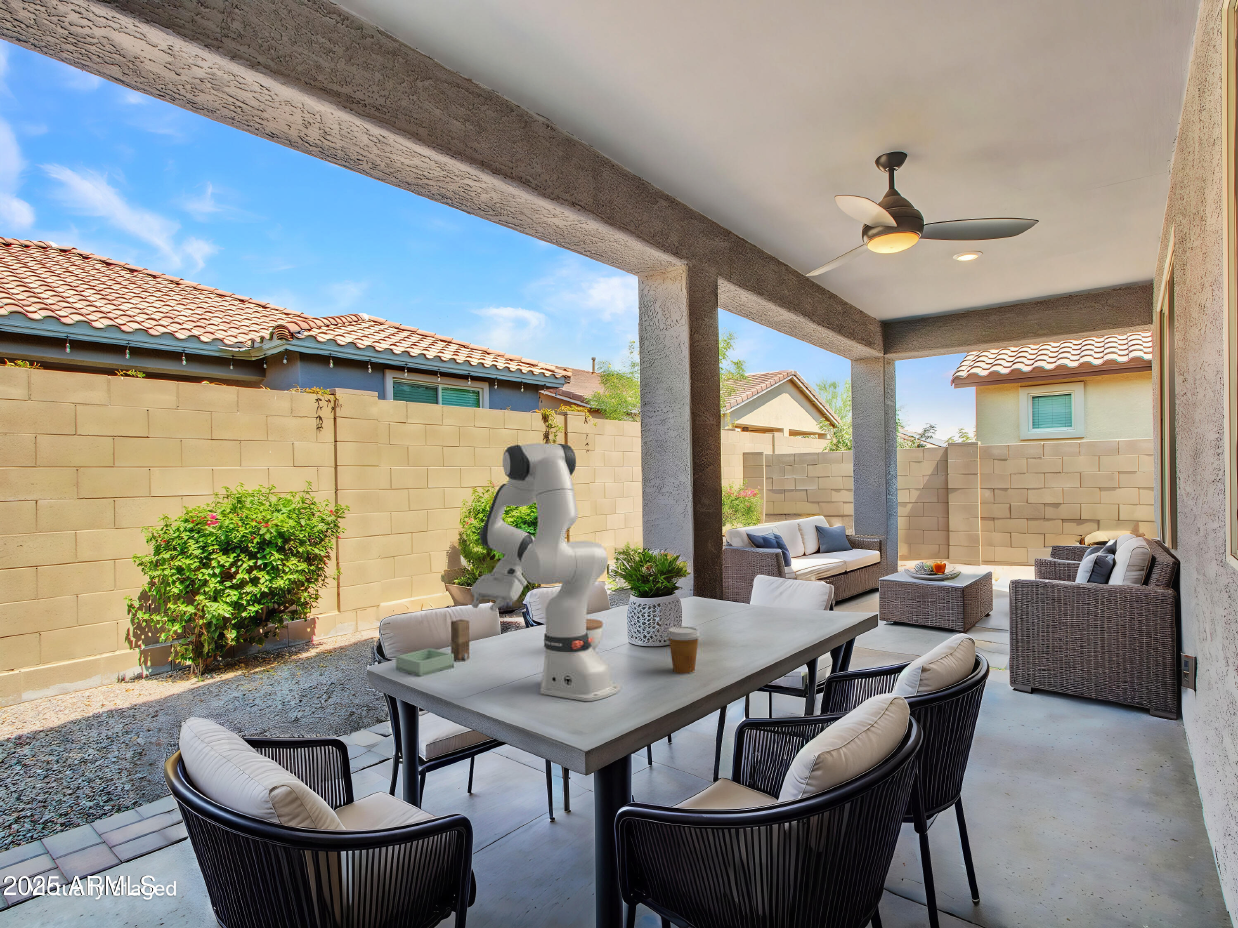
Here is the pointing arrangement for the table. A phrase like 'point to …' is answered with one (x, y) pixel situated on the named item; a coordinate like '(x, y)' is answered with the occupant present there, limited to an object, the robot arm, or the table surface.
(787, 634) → the table surface
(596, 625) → the lidded bowl
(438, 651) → the tray
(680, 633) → the disposable coffee cup
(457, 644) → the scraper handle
